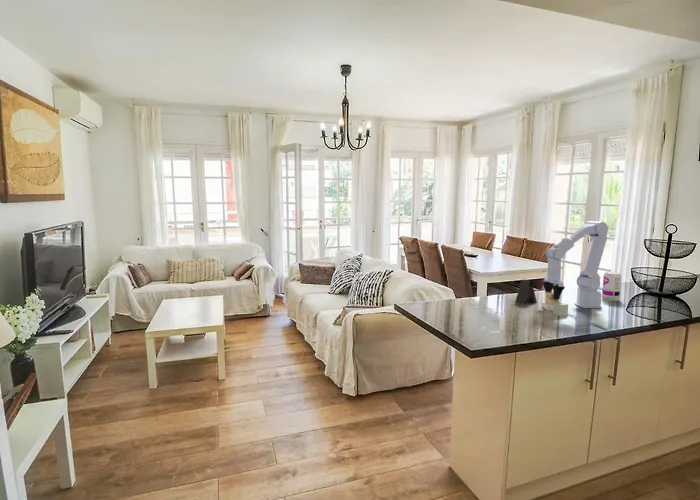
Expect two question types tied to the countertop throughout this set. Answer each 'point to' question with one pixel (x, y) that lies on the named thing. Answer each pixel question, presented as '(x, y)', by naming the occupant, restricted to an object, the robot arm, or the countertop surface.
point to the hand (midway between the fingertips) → (552, 297)
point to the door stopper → (526, 293)
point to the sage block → (560, 309)
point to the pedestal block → (547, 306)
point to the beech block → (550, 298)
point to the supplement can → (611, 286)
